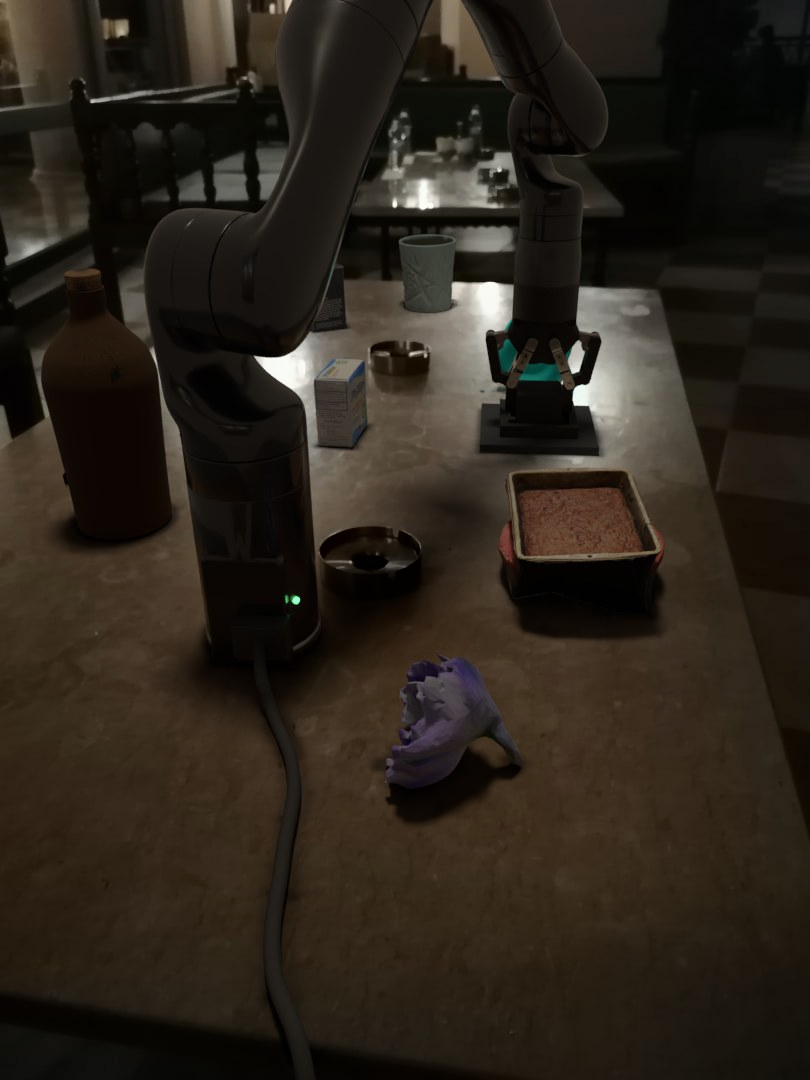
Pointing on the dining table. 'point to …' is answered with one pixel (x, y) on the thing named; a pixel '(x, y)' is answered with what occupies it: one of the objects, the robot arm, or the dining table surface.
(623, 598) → the baking dish
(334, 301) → the small box
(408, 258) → the grey green cup
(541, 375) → the donuts
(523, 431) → the socket pad
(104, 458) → the olive oil
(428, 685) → the flower
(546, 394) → the black square block
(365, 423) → the medicine box
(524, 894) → the dining table surface
